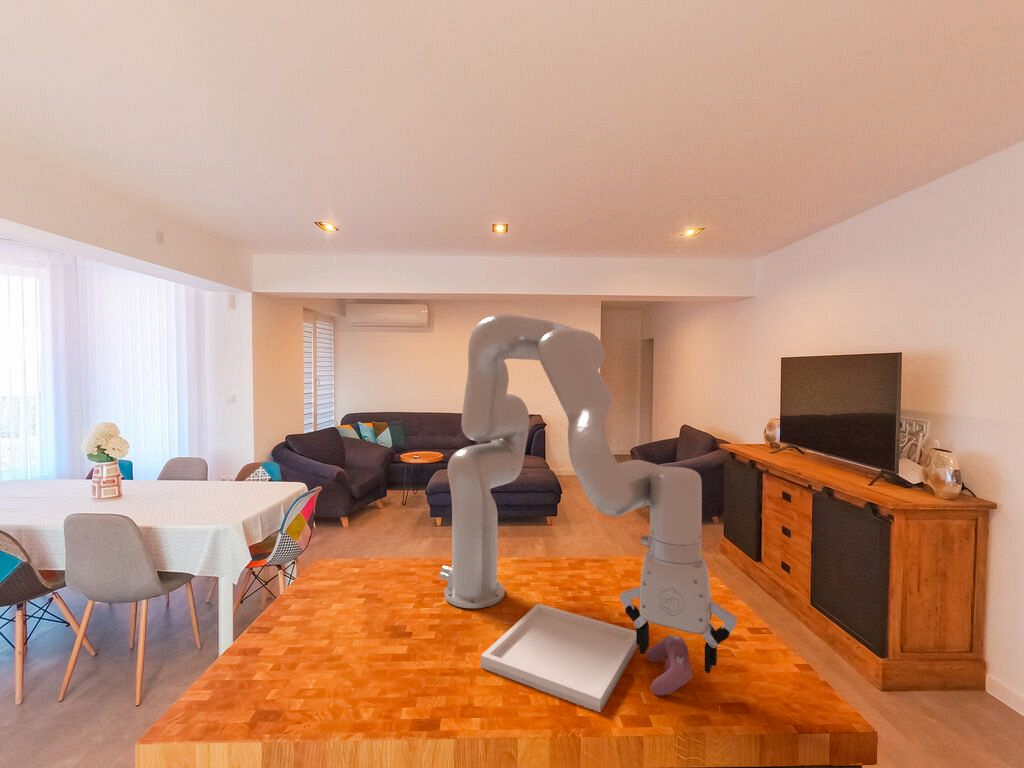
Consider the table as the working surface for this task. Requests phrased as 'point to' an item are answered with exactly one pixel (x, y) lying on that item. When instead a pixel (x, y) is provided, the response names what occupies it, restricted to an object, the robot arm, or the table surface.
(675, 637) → the video game controller
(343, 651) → the table surface
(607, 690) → the tray
